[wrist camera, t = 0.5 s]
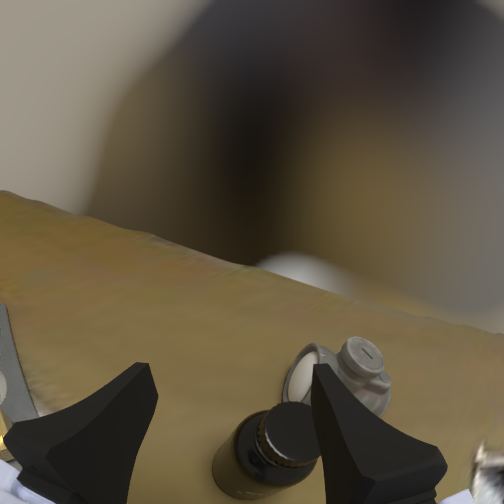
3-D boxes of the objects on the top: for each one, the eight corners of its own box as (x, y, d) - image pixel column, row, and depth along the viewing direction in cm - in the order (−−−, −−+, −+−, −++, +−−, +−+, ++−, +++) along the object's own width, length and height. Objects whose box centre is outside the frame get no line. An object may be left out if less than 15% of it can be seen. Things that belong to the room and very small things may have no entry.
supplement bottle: (241, 513, 18) (295, 498, 12) (196, 461, 22) (222, 418, 16) (293, 475, 23) (359, 435, 17) (250, 429, 27) (296, 372, 20)
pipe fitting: (274, 421, 28) (329, 369, 23) (281, 369, 35) (326, 312, 30) (361, 444, 28) (422, 399, 23) (357, 395, 35) (407, 348, 31)
